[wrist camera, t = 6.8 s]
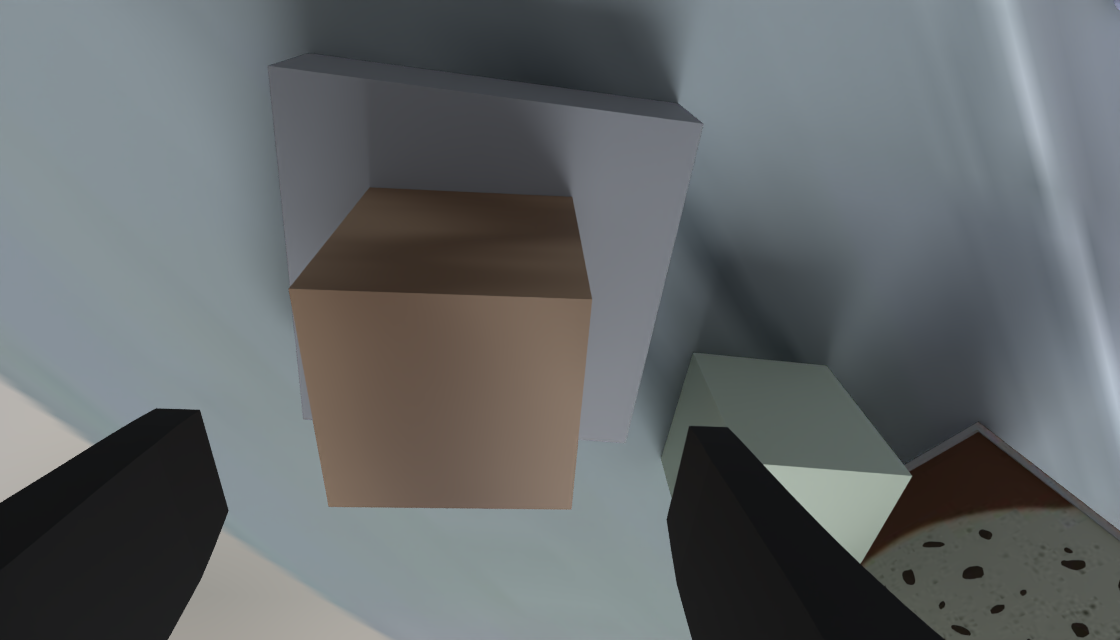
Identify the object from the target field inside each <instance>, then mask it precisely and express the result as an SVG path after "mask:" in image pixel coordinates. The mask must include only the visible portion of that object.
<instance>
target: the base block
mask: <svg viewBox="0 0 1120 640" xmlns="http://www.w3.org/2000/svg"><path fill="white" fill-rule="evenodd" d="M268 73H269V83H270V93H271V103H272V113H273V123H274V133H275V143H276V153H277V163H278V173H279V183H280V193H281V203H282V213H283V223H284V233H285V243H286V253H287V263H288V273H289V283H290V286H291V285H292V284H293V283H294V281H295V280H296V279H297V278H298V276H299V275H300V274H301V273H302V271H303V270H304V269H305V268H306V266H307V265H308V264H309V263H310V261H311V260H312V259H313V258H314V256H315V255H316V254H317V253H318V251H319V250H320V249H321V248H322V246H323V245H324V244H325V243H326V241H327V240H328V239H329V238H330V236H331V235H332V234H333V233H334V231H335V230H336V229H337V227H338V226H339V225H340V224H341V222H342V221H343V220H344V219H345V217H346V216H347V215H348V214H349V212H350V211H351V210H352V209H353V207H354V206H355V205H356V204H357V202H358V201H359V200H360V199H361V197H362V196H363V195H364V194H365V192H366V191H367V190H368V189H369V187H372V188H394V189H415V190H436V191H458V192H479V193H501V194H522V195H543V196H565V197H573V202H574V208H575V213H576V218H577V223H578V228H579V234H580V239H581V244H582V249H583V254H584V259H585V265H586V270H587V275H588V280H589V285H590V291H591V296H592V307H591V317H590V327H589V337H588V347H587V357H586V367H585V377H584V387H583V397H582V407H581V417H580V427H579V437H578V440H589V441H603V442H616V443H626V439H627V435H628V431H629V427H630V423H631V418H632V414H633V410H634V406H635V402H636V398H637V394H638V390H639V386H640V382H641V378H642V374H643V369H644V365H645V361H646V357H647V353H648V349H649V345H650V341H651V337H652V333H653V329H654V325H655V320H656V316H657V312H658V308H659V304H660V300H661V296H662V292H663V288H664V284H665V280H666V276H667V271H668V267H669V263H670V259H671V255H672V251H673V247H674V243H675V239H676V235H677V231H678V227H679V223H680V218H681V214H682V210H683V206H684V202H685V198H686V194H687V190H688V186H689V182H690V178H691V174H692V169H693V165H694V161H695V157H696V153H697V149H698V145H699V141H700V137H701V133H702V129H703V125H704V124H703V123H702V122H701V121H699V120H698V119H697V118H696V117H694V116H693V115H692V114H691V113H689V112H688V111H687V110H686V109H684V108H683V107H682V106H681V105H680V104H678V103H672V102H664V101H657V100H650V99H642V98H635V97H628V96H620V95H613V94H606V93H598V92H591V91H584V90H576V89H569V88H562V87H554V86H547V85H539V84H532V83H525V82H517V81H510V80H503V79H495V78H488V77H481V76H473V75H466V74H459V73H451V72H444V71H437V70H429V69H422V68H415V67H407V66H400V65H393V64H385V63H378V62H370V61H363V60H356V59H348V58H341V57H334V56H326V55H319V54H312V53H307V54H304V55H301V56H298V57H294V58H291V59H288V60H285V61H282V62H278V63H275V64H272V65H269V66H268ZM292 313H293V310H292ZM293 323H294V333H295V343H296V353H297V363H298V373H299V383H300V393H301V403H302V413H303V419H306V420H313V419H312V413H311V408H310V402H309V397H308V392H307V386H306V381H305V375H304V370H303V364H302V359H301V354H300V348H299V343H298V337H297V332H296V326H295V321H294V316H293Z"/></svg>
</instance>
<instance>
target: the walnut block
mask: <svg viewBox="0 0 1120 640" xmlns="http://www.w3.org/2000/svg"><path fill="white" fill-rule="evenodd" d="M289 294H290V299H291V305H292V310H293V316H294V321H295V326H296V332H297V337H298V343H299V348H300V354H301V359H302V364H303V370H304V375H305V381H306V386H307V392H308V397H309V402H310V408H311V413H312V419H313V424H314V430H315V435H316V440H317V446H318V451H319V457H320V462H321V468H322V473H323V478H324V484H325V489H326V495H327V500H328V506H329V507H394V508H484V509H571V508H572V498H573V488H574V478H575V468H576V458H577V447H578V437H579V427H580V417H581V407H582V397H583V387H584V377H585V367H586V357H587V347H588V337H589V327H590V317H591V307H592V296H591V291H590V285H589V280H588V275H587V270H586V265H585V259H584V254H583V249H582V244H581V239H580V234H579V228H578V223H577V218H576V213H575V208H574V202H573V197H565V196H543V195H522V194H501V193H479V192H458V191H436V190H415V189H394V188H372V187H369V189H368V190H367V191H366V192H365V194H364V195H363V196H362V197H361V199H360V200H359V201H358V202H357V204H356V205H355V206H354V207H353V209H352V210H351V211H350V212H349V214H348V215H347V216H346V217H345V219H344V220H343V221H342V222H341V224H340V225H339V226H338V227H337V229H336V230H335V231H334V233H333V234H332V235H331V236H330V238H329V239H328V240H327V241H326V243H325V244H324V245H323V246H322V248H321V249H320V250H319V251H318V253H317V254H316V255H315V256H314V258H313V259H312V260H311V261H310V263H309V264H308V265H307V266H306V268H305V269H304V270H303V271H302V273H301V274H300V275H299V276H298V278H297V279H296V280H295V281H294V283H293V284H292V285H291V286H290V288H289Z"/></svg>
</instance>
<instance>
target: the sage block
mask: <svg viewBox="0 0 1120 640" xmlns="http://www.w3.org/2000/svg"><path fill="white" fill-rule="evenodd" d="M689 426H712V427H728V428H729V429H730V430H731V431H732V432H733V433H734V434H735V435H736V436H737V437H738V438H739V439H740V440H741V441H742V442H743V443H744V444H745V445H746V447H747V448H748V449H749V450H750V451H751V452H752V453H753V454H754V455H755V456H756V457H757V458H758V459H759V461H760V462H761V463H762V464H763V465H764V466H765V467H766V468H767V469H768V470H769V471H770V472H771V473H772V475H773V476H774V477H775V478H776V479H777V480H778V481H779V482H780V483H781V484H782V485H783V486H784V487H785V488H786V489H787V490H788V492H789V493H790V494H791V495H792V496H793V497H794V498H795V499H796V500H797V501H798V502H799V503H800V504H801V505H802V506H803V507H804V508H805V509H806V510H807V511H808V512H809V513H810V514H811V515H812V516H813V517H814V519H815V520H816V521H817V522H818V523H819V524H820V525H821V526H822V527H823V528H824V529H825V530H826V531H827V532H828V533H829V534H830V535H831V536H832V537H833V538H834V539H835V540H836V541H837V542H838V543H839V544H840V545H841V546H842V547H844V548H845V549H846V550H847V551H848V552H849V553H850V554H851V555H852V556H853V557H854V558H855V559H856V560H857V561H858V562H859V563H860V564H861V562H862V561H863V559H864V557H865V556H866V554H867V552H868V550H869V549H870V547H871V545H872V544H873V542H874V540H875V539H876V537H877V535H878V533H879V532H880V530H881V528H882V527H883V525H884V523H885V522H886V520H887V518H888V516H889V515H890V513H891V511H892V510H893V508H894V506H895V505H896V503H897V501H898V499H899V498H900V496H901V494H902V493H903V491H904V489H905V488H906V486H907V484H908V482H909V481H910V479H911V477H912V475H911V474H910V472H909V471H908V470H907V468H906V467H905V466H904V465H903V463H902V462H901V461H900V459H899V458H898V457H897V456H896V454H895V453H894V452H893V450H892V449H891V448H890V447H889V445H888V444H887V443H886V441H885V440H884V439H883V438H882V436H881V435H880V434H879V432H878V431H877V430H876V429H875V427H874V426H873V425H872V423H871V422H870V421H869V420H868V418H867V417H866V416H865V414H864V413H863V412H862V411H861V409H860V408H859V407H858V405H857V404H856V403H855V402H854V400H853V399H852V398H851V396H850V395H849V394H848V393H847V391H846V390H845V389H844V387H843V386H842V385H841V384H840V382H839V381H838V380H837V378H836V377H835V376H834V375H833V373H832V372H831V371H830V369H829V368H828V367H827V366H825V365H815V364H805V363H794V362H784V361H774V360H764V359H754V358H744V357H734V356H723V355H713V354H703V353H693V354H692V358H691V361H690V364H689V367H688V371H687V374H686V377H685V381H684V384H683V387H682V391H681V394H680V397H679V401H678V404H677V407H676V411H675V414H674V417H673V420H672V424H671V427H670V430H669V434H668V437H667V440H666V444H665V447H664V450H663V454H662V457H661V461H662V465H663V468H664V472H665V475H666V479H667V483H668V486H669V490H670V494H671V497H672V495H673V491H674V487H675V483H676V479H677V474H678V470H679V466H680V462H681V457H682V453H683V449H684V445H685V441H686V436H687V432H688V428H689Z"/></svg>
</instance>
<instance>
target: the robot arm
mask: <svg viewBox="0 0 1120 640" xmlns="http://www.w3.org/2000/svg"><path fill="white" fill-rule="evenodd" d="M1114 4H1115V6H1116V8H1117V9H1118V10H1120V0H1114ZM227 513H228V507H227V504H226V500H225V496H224V493H223V489H222V486H221V482H220V479H219V475H218V472H217V468H216V465H215V461H214V458H213V454H212V451H211V447H210V444H209V440H208V437H207V433H206V430H205V426H204V423H203V419H202V416H201V412H200V410H188V409H157V408H156V409H154V410H152V411H150V412H149V413H147V414H145V415H143V416H141V417H139V418H138V419H136V420H134V421H133V422H131V423H129V424H127V425H126V426H124V427H122V428H121V429H119V430H117V431H116V432H114V433H112V434H111V435H109V436H108V437H106V438H104V439H103V440H101V441H99V442H98V443H96V444H95V445H93V446H91V447H90V448H88V449H87V450H85V451H83V452H82V453H80V454H79V455H77V456H75V457H74V458H72V459H71V460H69V461H67V462H66V463H64V464H62V465H61V466H59V467H58V468H56V469H54V470H53V471H51V472H50V473H48V474H47V475H45V476H43V477H41V478H40V479H38V480H37V481H35V482H33V483H32V484H30V485H29V486H27V487H26V488H24V489H22V490H21V491H19V492H17V493H15V494H14V495H12V496H11V497H9V498H7V499H6V500H4V501H3V502H1V503H0V640H168V638H169V636H170V635H171V633H172V631H173V629H174V627H175V626H176V624H177V622H178V620H179V618H180V616H181V615H182V613H183V611H184V609H185V607H186V605H187V604H188V602H189V600H190V598H191V597H192V595H193V593H194V591H195V589H196V587H197V585H198V584H199V582H200V580H201V578H202V575H203V573H204V571H205V568H206V566H207V564H208V561H209V559H210V557H211V554H212V552H213V549H214V547H215V545H216V542H217V539H218V536H219V534H220V532H221V529H222V526H223V524H224V521H225V519H226V516H227ZM667 525H668V531H669V538H670V545H671V552H672V558H673V564H674V570H675V576H676V581H677V586H678V590H679V593H680V597H681V601H682V605H683V608H684V612H685V615H686V619H687V623H688V626H689V630H690V634H691V637H692V640H945V639H944V638H943V637H941V636H940V635H939V634H938V633H937V632H935V631H934V630H933V629H932V628H931V627H930V626H928V625H927V624H926V623H925V622H924V621H923V620H921V619H920V618H919V617H918V616H917V615H916V614H915V613H913V612H912V611H911V610H910V609H909V608H908V607H907V606H906V605H904V604H903V603H902V602H901V601H900V600H899V599H898V598H897V597H896V596H895V595H894V594H892V593H891V592H890V591H889V590H888V589H887V588H886V587H885V586H884V585H883V584H882V583H881V582H879V581H878V580H877V579H876V578H875V577H874V576H873V575H872V574H871V573H870V572H869V571H868V570H866V569H865V568H864V567H863V566H862V565H861V564H860V563H859V562H858V561H857V560H856V559H855V558H854V557H853V556H852V555H851V554H850V553H849V552H848V551H847V550H846V549H845V548H844V547H842V546H841V545H840V544H839V543H838V542H837V541H836V540H835V539H834V538H833V537H832V536H831V535H830V534H829V533H828V532H827V531H826V530H825V529H824V528H823V527H822V526H821V525H820V524H819V523H818V522H817V521H816V520H815V519H814V517H813V516H812V515H811V514H810V513H809V512H808V511H807V510H806V509H805V508H804V507H803V506H802V505H801V504H800V503H799V502H798V501H797V500H796V499H795V498H794V497H793V496H792V495H791V494H790V493H789V492H788V490H787V489H786V488H785V487H784V486H783V485H782V484H781V483H780V482H779V481H778V480H777V479H776V478H775V477H774V476H773V475H772V473H771V472H770V471H769V470H768V469H767V468H766V467H765V466H764V465H763V464H762V463H761V462H760V461H759V459H758V458H757V457H756V456H755V455H754V454H753V453H752V452H751V451H750V450H749V449H748V448H747V447H746V445H745V444H744V443H743V442H742V441H741V440H740V439H739V438H738V437H737V436H736V435H735V434H734V433H733V432H732V431H731V430H730V429H729V428H728V427H712V426H689V428H688V432H687V436H686V441H685V445H684V449H683V453H682V457H681V462H680V466H679V470H678V474H677V479H676V483H675V487H674V491H673V495H672V500H671V504H670V508H669V512H668V516H667Z"/></svg>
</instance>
